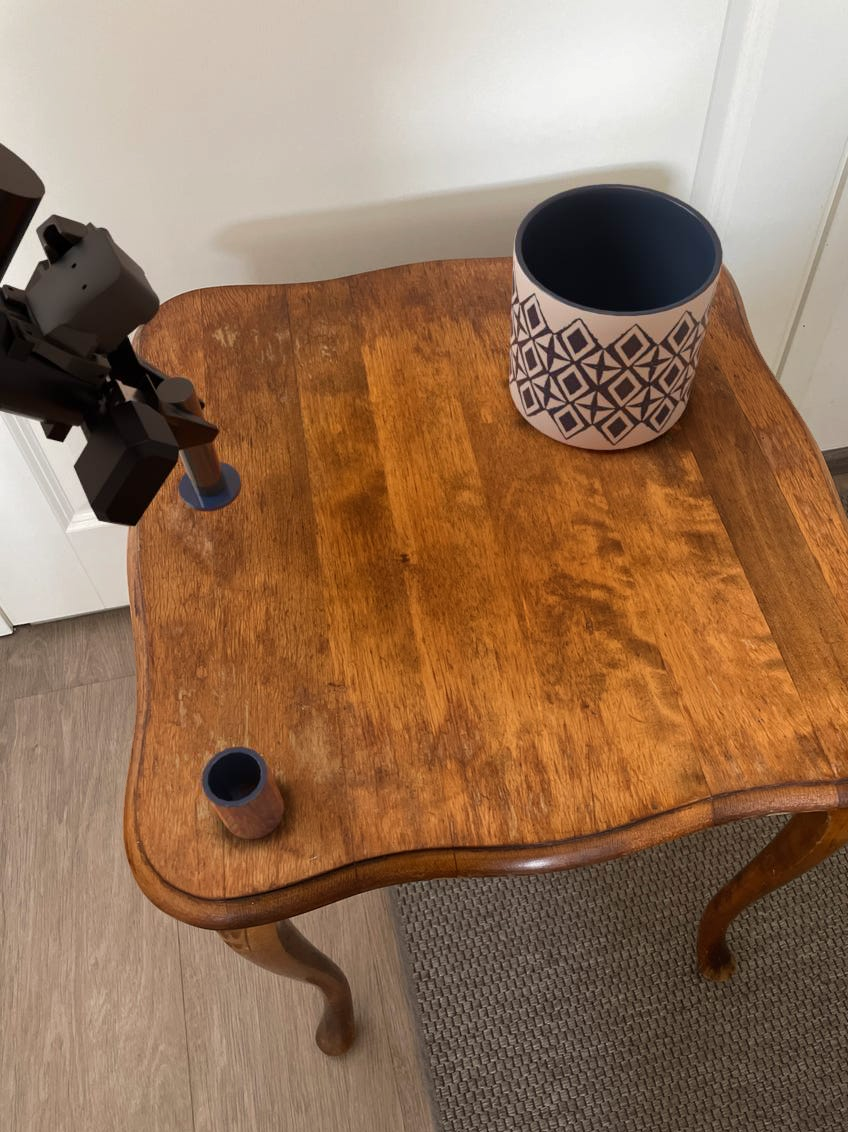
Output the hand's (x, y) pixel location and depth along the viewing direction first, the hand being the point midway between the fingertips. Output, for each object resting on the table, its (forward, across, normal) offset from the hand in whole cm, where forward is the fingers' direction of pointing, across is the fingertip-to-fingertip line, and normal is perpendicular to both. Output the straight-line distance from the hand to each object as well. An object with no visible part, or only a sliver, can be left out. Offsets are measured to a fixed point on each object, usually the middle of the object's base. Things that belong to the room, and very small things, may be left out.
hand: (208, 422), depth 63 cm
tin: (+4, -21, +15) cm, 26 cm away
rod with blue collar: (+3, 0, +5) cm, 6 cm away
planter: (+33, +1, -14) cm, 36 cm away
